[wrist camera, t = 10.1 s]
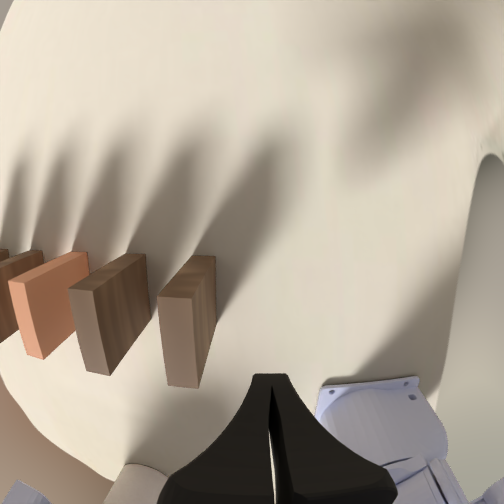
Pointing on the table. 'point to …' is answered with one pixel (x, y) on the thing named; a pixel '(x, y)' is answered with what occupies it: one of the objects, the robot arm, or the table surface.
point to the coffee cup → (136, 486)
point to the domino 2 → (47, 302)
